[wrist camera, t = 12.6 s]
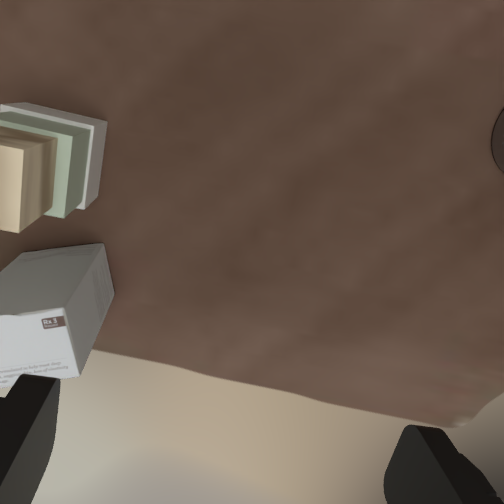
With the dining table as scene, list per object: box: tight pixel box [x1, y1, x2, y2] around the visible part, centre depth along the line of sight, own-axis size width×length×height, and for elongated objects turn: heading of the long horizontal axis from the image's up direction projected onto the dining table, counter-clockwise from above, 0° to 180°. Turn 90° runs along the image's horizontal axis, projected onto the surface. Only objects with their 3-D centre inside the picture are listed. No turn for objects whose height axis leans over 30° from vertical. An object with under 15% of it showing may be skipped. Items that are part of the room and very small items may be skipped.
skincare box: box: [0, 243, 115, 388], centre depth 37 cm, size 8×6×15 cm
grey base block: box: [0, 102, 108, 210], centre depth 38 cm, size 7×7×5 cm
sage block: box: [0, 111, 91, 218], centre depth 33 cm, size 6×6×5 cm
